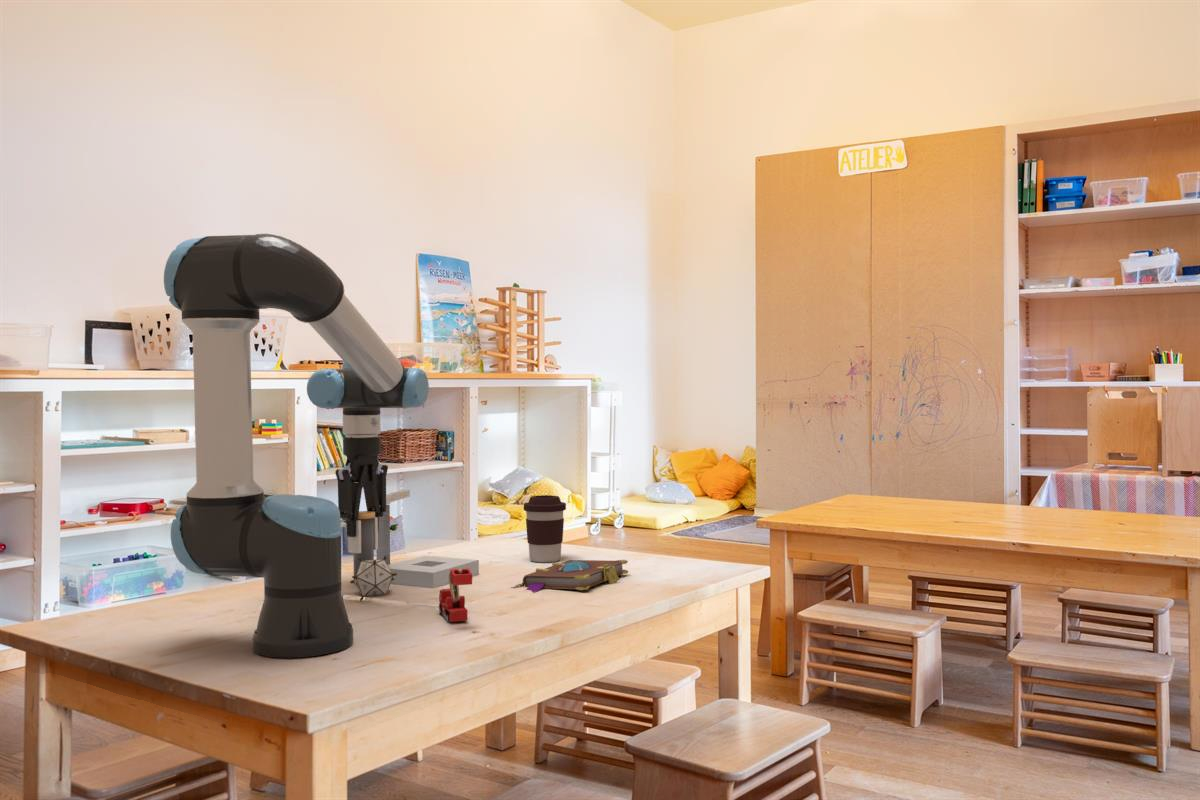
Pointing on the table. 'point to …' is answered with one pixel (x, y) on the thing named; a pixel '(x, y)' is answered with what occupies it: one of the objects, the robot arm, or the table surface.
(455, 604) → the toy fire truck
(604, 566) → the book
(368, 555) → the plug
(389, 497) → the silver ball-ended lever
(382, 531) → the post
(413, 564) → the socket block
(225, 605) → the table surface
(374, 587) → the game die
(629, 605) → the table surface
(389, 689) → the table surface
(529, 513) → the coffee cup
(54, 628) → the table surface
